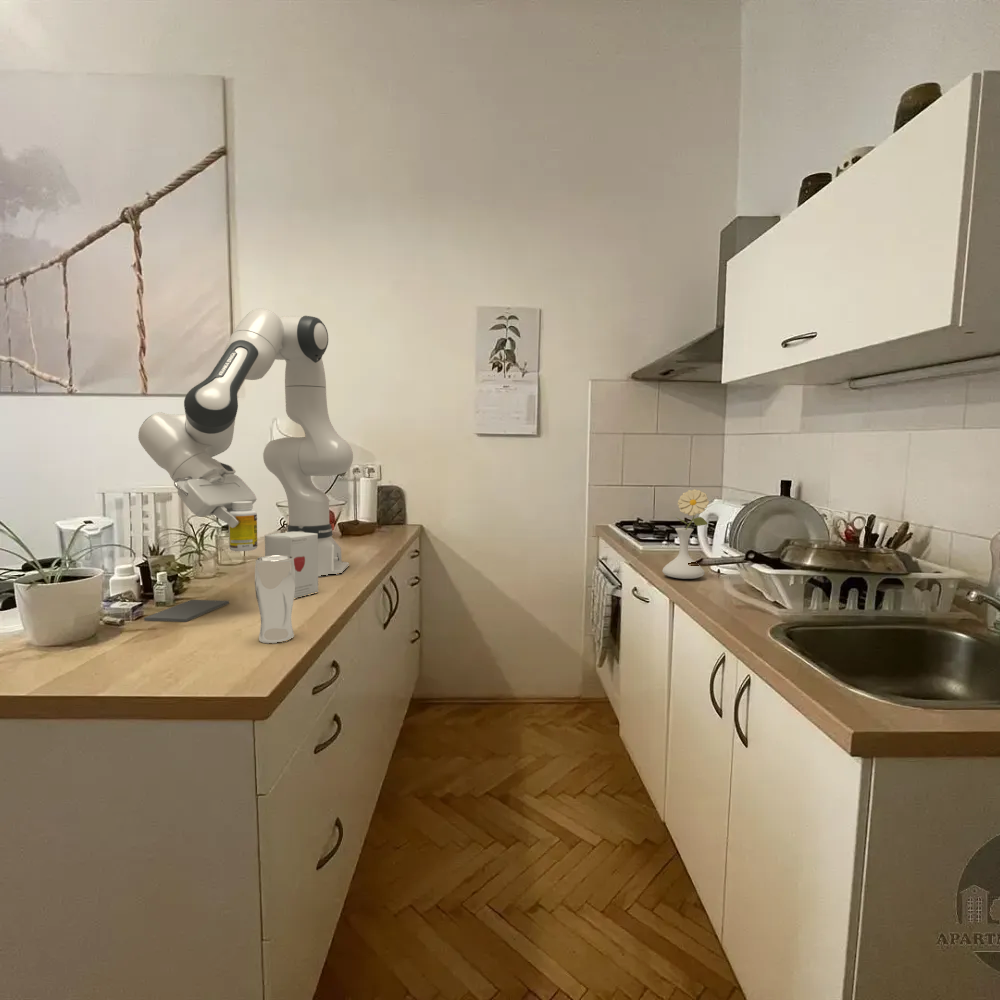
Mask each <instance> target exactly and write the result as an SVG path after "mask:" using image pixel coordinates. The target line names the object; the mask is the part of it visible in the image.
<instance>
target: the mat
mask: <svg viewBox="0 0 1000 1000" xmlns="http://www.w3.org/2000/svg"><path fill="white" fill-rule="evenodd" d="M229 604H230V600H218V599H217V600H216V599H214V600H211V599H209V600H208V599H190V600H186V601H185V602H181V603H179V604H176V605H174V606H171V607H169V608H167V609H164V610H161V611H157V612H155V613H153V614H150V615H148V616H145V617H144V621H146V622H147V621H148V622H149V621H150V622H174V623H175V622H180V623H186V622H189V621H192V620H194V619H195V618H199V617H201V616H203V615H205V614H208V613H210V612H212V611H215V610H217V609H219V608H221V607H223V606H227V605H229Z"/></svg>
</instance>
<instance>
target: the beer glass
mask: <svg viewBox="0 0 1000 1000" xmlns="http://www.w3.org/2000/svg"><path fill="white" fill-rule="evenodd" d="M254 589H255V590H254V591H255V596H256V601H257V605H258V606H257V607H258V610H259V615H260V616H259V617H260V628H259V634H258V635H259V636H258V641H259V642H260V643H263V644H269V643H272V644H278V643H277V642H282V641H286V640H289V639H291V638H293V637H294V638H295V634H294V633H295V632H294V628H293V625H292V611H293V606H294V600H295V599H294V594H295V566H294V557H293V556H289V555H271V556H265V555H264V556H259V557H256V558H255V565H254ZM294 638H293V639H294ZM289 641H290V640H289ZM286 642H287V641H286ZM282 643H283V642H282Z"/></svg>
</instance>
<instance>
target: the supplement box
mask: <svg viewBox="0 0 1000 1000" xmlns="http://www.w3.org/2000/svg"><path fill="white" fill-rule="evenodd" d="M271 555H289V556H293V557H294V566H295V594H294V598H297V597H301V596H304V595H308V594H311V593H315V592H318V593H319V576H318V534H316V533H305V532H294V531H293V532H287V531H286V532H277V533H276V532H275V533H269V534H265V535H264V556H271ZM301 598H302V597H301ZM297 599H298V598H297Z"/></svg>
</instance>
